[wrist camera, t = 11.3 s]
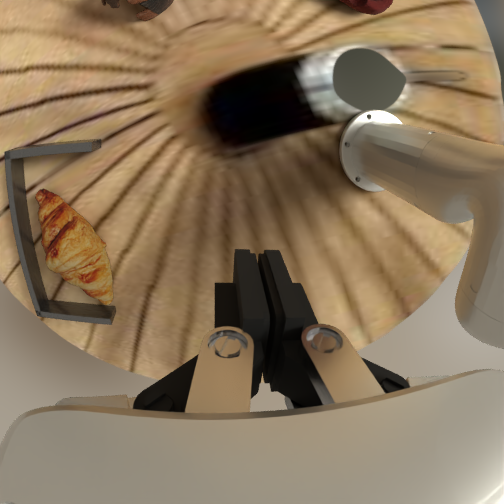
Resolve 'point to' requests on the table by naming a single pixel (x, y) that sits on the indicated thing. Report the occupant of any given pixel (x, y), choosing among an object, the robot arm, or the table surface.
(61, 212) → the croissant
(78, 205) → the table surface
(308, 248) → the table surface
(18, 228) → the bent metal bracket
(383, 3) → the ashtray
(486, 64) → the table surface
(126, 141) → the table surface
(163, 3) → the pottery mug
